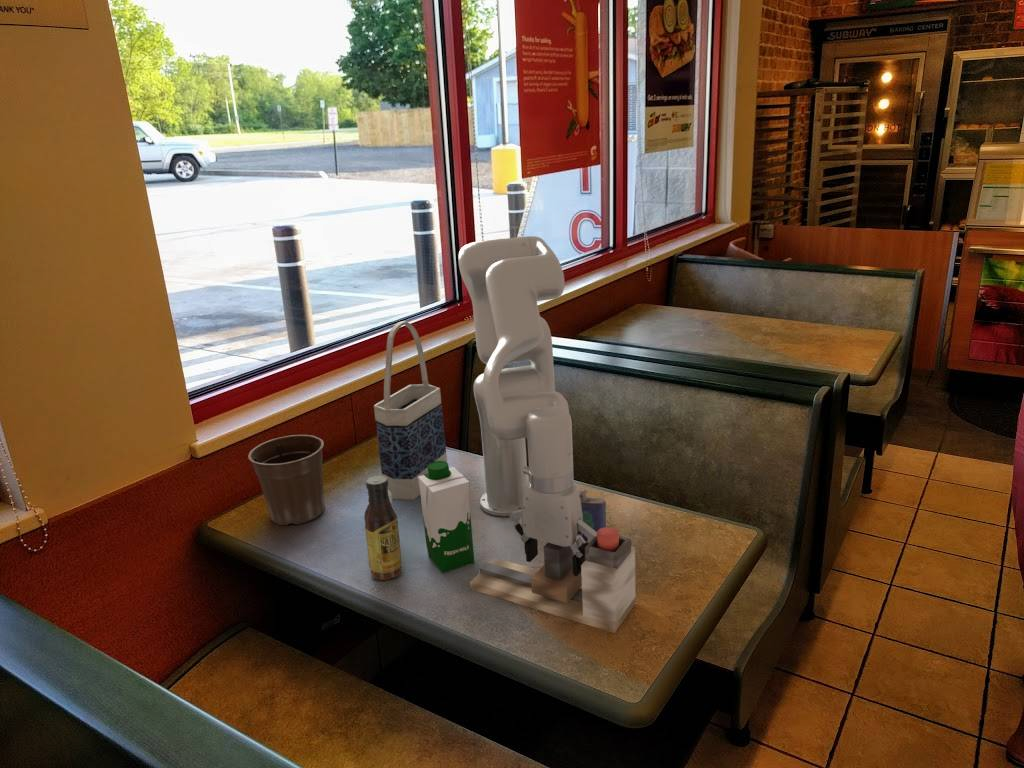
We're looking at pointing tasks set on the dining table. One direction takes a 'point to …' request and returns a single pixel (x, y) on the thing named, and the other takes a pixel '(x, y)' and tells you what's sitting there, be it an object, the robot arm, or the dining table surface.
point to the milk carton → (446, 517)
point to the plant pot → (291, 477)
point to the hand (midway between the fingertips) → (555, 564)
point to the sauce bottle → (382, 531)
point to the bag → (409, 427)
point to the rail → (593, 604)
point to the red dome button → (608, 539)
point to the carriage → (556, 574)
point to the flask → (593, 512)
